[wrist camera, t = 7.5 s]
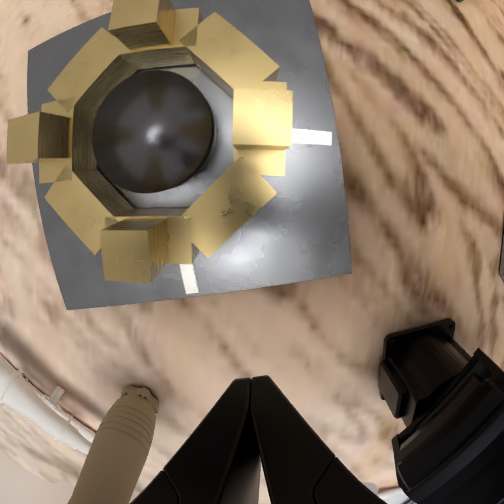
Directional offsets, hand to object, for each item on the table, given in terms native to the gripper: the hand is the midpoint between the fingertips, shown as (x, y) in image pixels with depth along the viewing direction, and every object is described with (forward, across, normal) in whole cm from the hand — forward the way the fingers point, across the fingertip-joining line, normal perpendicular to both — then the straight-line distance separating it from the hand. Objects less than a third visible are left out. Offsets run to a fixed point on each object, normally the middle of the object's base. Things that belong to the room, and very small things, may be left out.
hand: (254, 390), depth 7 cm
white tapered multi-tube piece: (+13, +21, +10) cm, 27 cm away
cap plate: (+13, +4, -8) cm, 16 cm away
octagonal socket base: (+12, +4, -8) cm, 15 cm away
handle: (+13, +11, +11) cm, 20 cm away
